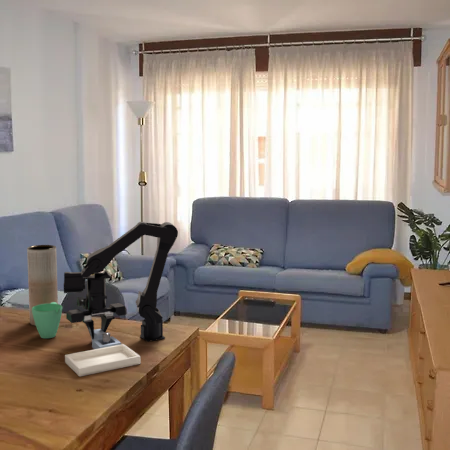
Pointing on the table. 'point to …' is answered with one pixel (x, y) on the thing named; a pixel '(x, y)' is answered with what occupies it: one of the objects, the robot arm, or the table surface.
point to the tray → (102, 359)
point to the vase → (42, 276)
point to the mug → (47, 319)
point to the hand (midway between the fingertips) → (97, 338)
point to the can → (106, 338)
